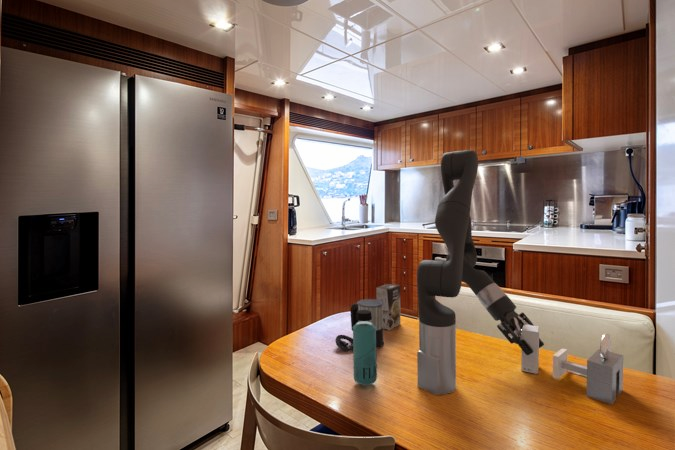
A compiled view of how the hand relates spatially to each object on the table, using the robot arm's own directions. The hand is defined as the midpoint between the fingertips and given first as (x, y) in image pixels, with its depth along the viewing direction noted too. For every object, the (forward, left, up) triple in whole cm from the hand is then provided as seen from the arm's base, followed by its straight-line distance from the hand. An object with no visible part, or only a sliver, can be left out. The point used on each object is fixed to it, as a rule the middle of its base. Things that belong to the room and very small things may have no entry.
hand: (536, 350), depth 98 cm
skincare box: (0, +2, -6) cm, 6 cm away
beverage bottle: (-42, +27, -6) cm, 50 cm away
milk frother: (-25, +46, -6) cm, 53 cm away
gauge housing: (+2, -11, -6) cm, 13 cm away
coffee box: (-3, +54, -6) cm, 54 cm away
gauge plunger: (+2, -11, -5) cm, 12 cm away
